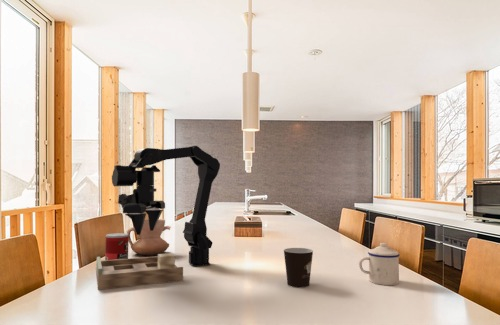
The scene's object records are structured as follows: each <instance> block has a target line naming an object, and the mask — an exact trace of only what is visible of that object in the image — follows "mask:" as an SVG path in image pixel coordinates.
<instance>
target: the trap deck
mask: <svg viewBox="0 0 500 325" xmlns="http://www.w3.org/2000/svg"><path fill="white" fill-rule="evenodd" d="M95 270H96V284H97V285H96V286H97V290H98V291H99V290H100V291H101V290H106V289H107V290H108V289H117V288H128V287H136V286H137V287H138V286H145V285H146V286H147V285H156V284H165V283H175V282H176V283H177V282H183V281H184V267H183V266H177V265H176V264H175V268H163V269H158V255H156V256H146V257H145V256H144V257H132V258H129V257H128V259H116V260H105V259H103V260H101V256H96V267H95Z"/></svg>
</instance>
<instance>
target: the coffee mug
mask: <svg viewBox="0 0 500 325" xmlns="http://www.w3.org/2000/svg"><path fill="white" fill-rule="evenodd" d="M313 252H314V250H313V249H310V248H305V247H287V248H284V249H283V255H284V264H285V271H286V272H285V273H286V283H287V286H288V287H291V286H292V288H307V287H309V286H310V281H311V275H312V274H311V272H312V264H313V263H312V262H313Z"/></svg>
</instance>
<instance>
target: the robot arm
mask: <svg viewBox="0 0 500 325" xmlns="http://www.w3.org/2000/svg"><path fill="white" fill-rule="evenodd" d="M181 158H182V159H183V158H190V160H191V162H192V163H193V164H194V165H195V166H197V174H198V179H199V182H198V186H197V192H196V196H195V201H194V206H193V212H192V214H191V215H192V217H191V219H190V220H189V221H185V222H184V228H183V231H182V233H183V238H184V239H185V241H186V242H187V244H188V247H190V250H189V251H188V263H189V264H190V265H191V266H192V267H201V266H210V265H211V263H210V249H212V247H213V246H212V245H213V241H212V240H211V239H210V237H208V236H207V235H208V234H207V231H208V228H207V223H206V217H207V211H208V207H209V201H210V197H211V196H210V195H211V191H212V186H213V182H214V181H215V180H216V177H217V176H218V175H219V174H218V173H219V171H220V167H221V163H220V161H219V160H218V158H216V157H213V156H212V155H211V154H209V153H208V152H205V151H204V150H203V149H202V148H200V147H199V146H198V145H191V146H185V147H177V148H168V149H161V148H154V147H153V148H152V147H145V148H140V149H137V150H136V151H135V152H134V155H133V159H132V160H131V161H130V163H129V164H128V165H120V164H116V165H114V168H113V170H112V175H111V182H112V183H111V184H112V185H113V187H133V186H134V184H135V186H136V188H133V190H132V194H126V193H120V194H119V195H118V199H117V200H118V201H117V204H119V205H121V208H122V214H125V216H127V217H128V218H130V220H131V222H132V224H133V227H134V228H135V231H136V232H135V231H134V232H135V234H136V235H137V236H139V235H140V234H141V231H142V227H143V224H144V220H146V216H148V217H147V218H148V220H149V227H150V231H153V230H154V228H155V226H156V223H157V221H158V219H160V217H161V215H162V213H163V212H164V210H165V209H166V203H165V201H163V200H155V192H157V188H155V173H160V172H161V169H159V168H158V166H156V164H158V163H160V162H163V161H167V160H174V159H181ZM149 166H150V167H149ZM136 169H140V170H136Z"/></svg>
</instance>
